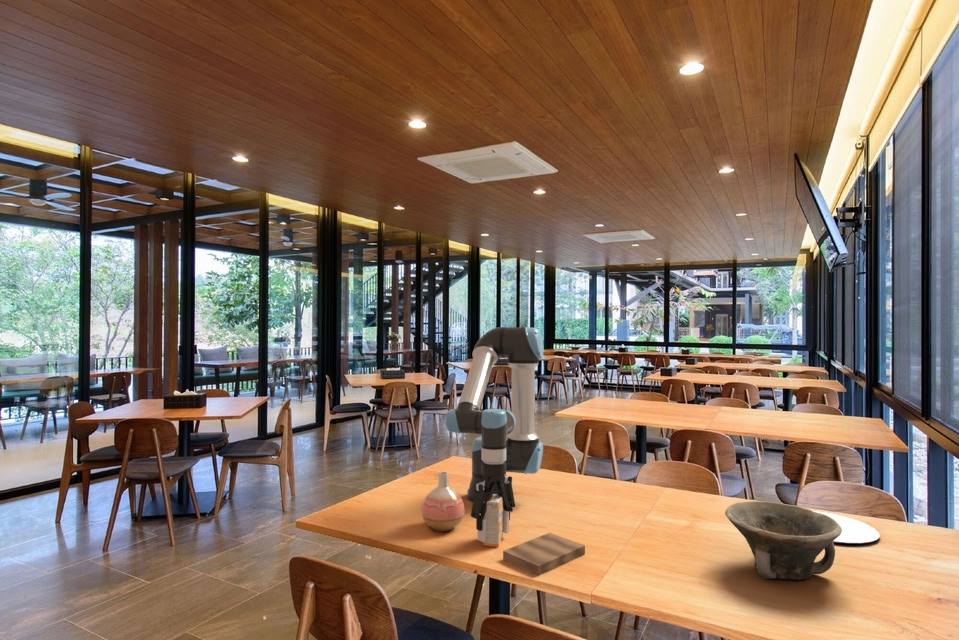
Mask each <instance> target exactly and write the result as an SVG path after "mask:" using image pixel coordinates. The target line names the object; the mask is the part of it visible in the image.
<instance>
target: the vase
mask: <svg viewBox="0 0 959 640" xmlns="http://www.w3.org/2000/svg"><path fill="white" fill-rule="evenodd" d="M437 482H438V484H437V486H436V487H435V488H434V489H432V490H431V491H430V492H428V493H427V495H426V496H425V497H424V500H423V503H422V506H421V515H422V518H423V520H424V522H425V523H426V524H427V525H428V526H429V527H430V528H431V529H433V530H434V531H436V532H437V531H438V532H447V531H452V530H453V529H455V527H457V526H458V525H459V524H460V523H461V522H462V520H463V518H464V516H465V503H464V500H463V498H462V496H461V495H460V493H459V492H458V491H456V490H455V489H453V488H452V487H451V486H449V472H447V471H440V472H439V473H438V481H437Z"/></svg>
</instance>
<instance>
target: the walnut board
mask: <svg viewBox="0 0 959 640" xmlns="http://www.w3.org/2000/svg"><path fill="white" fill-rule="evenodd" d="M584 555H586V545H585V544H582V543H579V542H577V541H574V540H571V539H568V538H565V537H564V536H560V535H557V534H554V533H552V532H548V533H545V534H542V535H541V536H538V537H536V538H533V539H530V540H526V541H525V542H522V543H519V544H517V545H515V546H512V547H510V548H507V549H505V550H502V560H503V561H504V562H507V563H509V564H512V565H513V566H516V567H518V568H521V569H523V570H524V571H527V572H529V573H532V574H534V575H536V576H539V577H540V576H541V574H542V575H544V574H546V573H548V572H550V571H552V570H555V569H557V568H558V567H560V566H563V565H566V564H567V563H569V562H572V561H573V560H575V559H577V558H580V557H583V556H584Z"/></svg>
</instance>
